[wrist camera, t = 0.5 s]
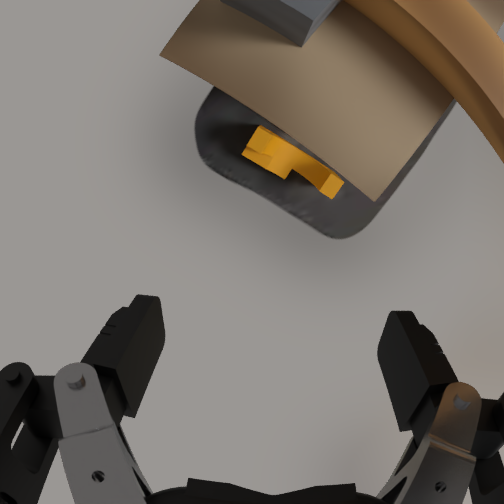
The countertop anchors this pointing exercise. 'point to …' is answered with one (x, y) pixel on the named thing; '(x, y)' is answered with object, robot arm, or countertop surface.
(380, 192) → the stand
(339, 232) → the countertop surface
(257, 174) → the countertop surface
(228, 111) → the countertop surface
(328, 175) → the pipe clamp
